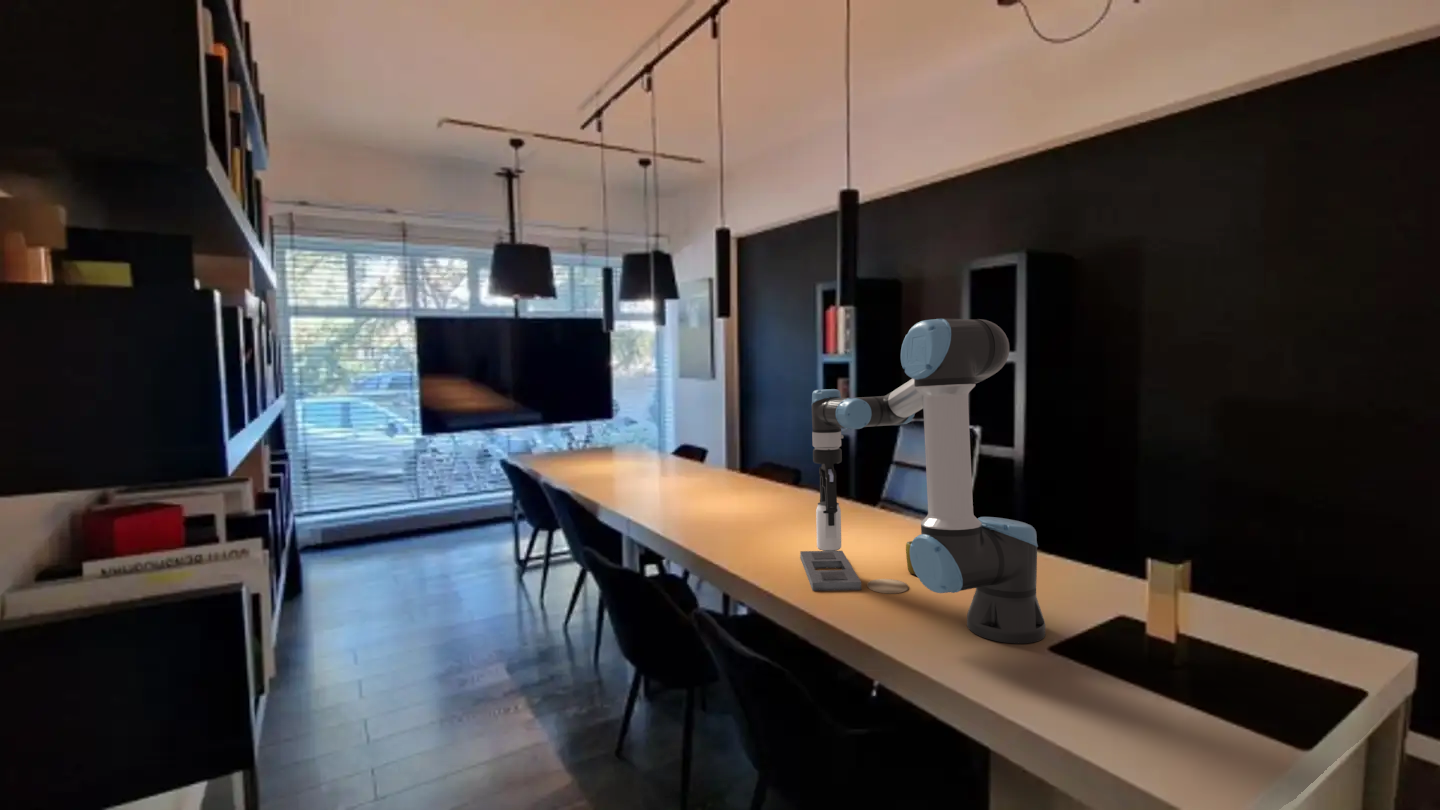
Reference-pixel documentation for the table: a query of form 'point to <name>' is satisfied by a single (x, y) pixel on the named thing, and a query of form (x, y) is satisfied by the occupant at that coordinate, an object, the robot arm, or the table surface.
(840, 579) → the panel
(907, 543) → the mug
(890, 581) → the coaster
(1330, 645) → the table surface
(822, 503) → the can
